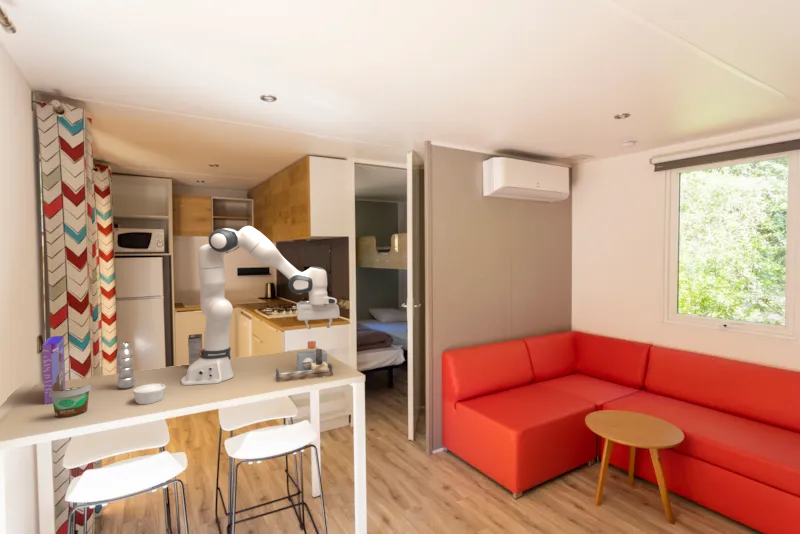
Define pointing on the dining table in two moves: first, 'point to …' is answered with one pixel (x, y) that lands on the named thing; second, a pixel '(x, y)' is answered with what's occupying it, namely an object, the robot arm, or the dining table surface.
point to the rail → (302, 374)
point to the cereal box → (53, 366)
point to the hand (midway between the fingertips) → (318, 328)
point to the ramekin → (149, 393)
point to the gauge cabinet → (308, 359)
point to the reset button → (311, 344)
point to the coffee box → (194, 347)
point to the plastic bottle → (125, 366)
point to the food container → (70, 401)
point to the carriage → (319, 363)
